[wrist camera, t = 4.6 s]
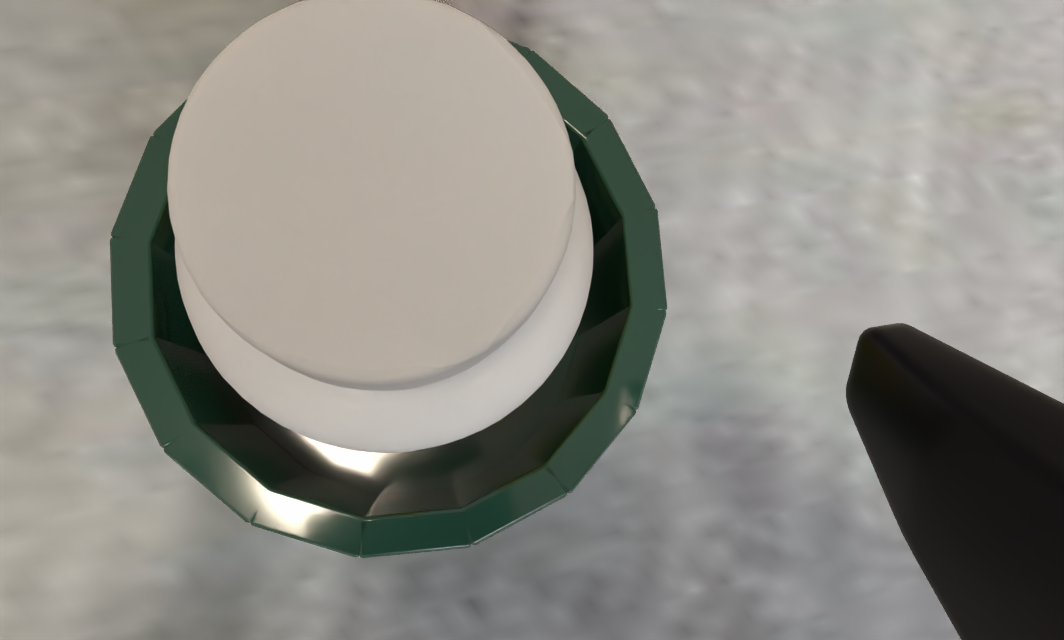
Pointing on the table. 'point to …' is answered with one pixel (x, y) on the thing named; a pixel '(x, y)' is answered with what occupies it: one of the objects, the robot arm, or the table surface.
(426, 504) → the crock
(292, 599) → the table surface
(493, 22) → the table surface
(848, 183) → the table surface
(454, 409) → the supplement bottle
